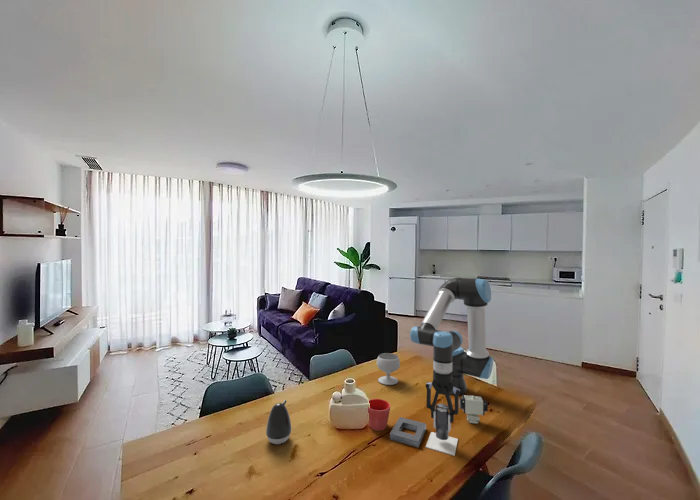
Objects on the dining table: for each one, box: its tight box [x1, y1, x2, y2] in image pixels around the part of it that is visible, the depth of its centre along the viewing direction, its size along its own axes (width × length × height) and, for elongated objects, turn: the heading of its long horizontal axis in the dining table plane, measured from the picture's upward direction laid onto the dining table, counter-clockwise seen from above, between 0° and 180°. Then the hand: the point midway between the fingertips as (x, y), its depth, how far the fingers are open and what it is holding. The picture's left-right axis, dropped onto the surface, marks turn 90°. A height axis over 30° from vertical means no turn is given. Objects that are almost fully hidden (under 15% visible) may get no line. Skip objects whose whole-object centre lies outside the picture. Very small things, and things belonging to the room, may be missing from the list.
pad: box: [425, 431, 459, 457], centre depth 125 cm, size 11×11×1 cm
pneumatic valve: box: [459, 394, 489, 425], centre depth 141 cm, size 6×12×12 cm, turn 78°
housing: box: [389, 416, 427, 448], centre depth 131 cm, size 14×12×2 cm
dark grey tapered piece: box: [265, 399, 292, 445], centre depth 126 cm, size 10×10×15 cm
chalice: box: [376, 352, 401, 386], centre depth 183 cm, size 14×14×15 cm
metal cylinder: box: [435, 403, 450, 440], centre depth 124 cm, size 5×5×12 cm
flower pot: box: [368, 398, 391, 432], centre depth 137 cm, size 11×11×10 cm
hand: (442, 427), depth 125 cm, fingers closed on metal cylinder, 5 cm apart
